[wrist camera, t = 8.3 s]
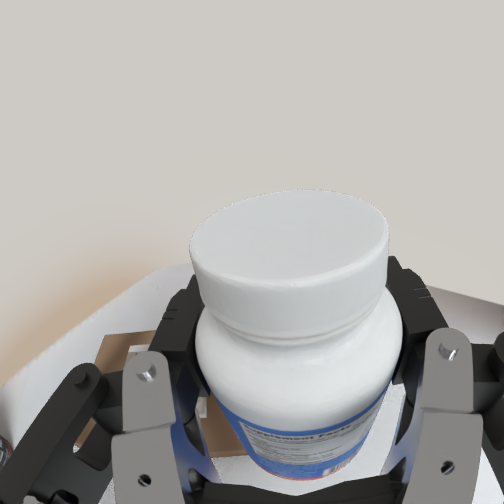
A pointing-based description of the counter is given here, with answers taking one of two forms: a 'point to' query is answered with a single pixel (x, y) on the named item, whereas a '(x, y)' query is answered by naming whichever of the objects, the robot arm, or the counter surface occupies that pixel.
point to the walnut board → (211, 415)
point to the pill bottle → (297, 325)
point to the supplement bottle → (4, 452)
